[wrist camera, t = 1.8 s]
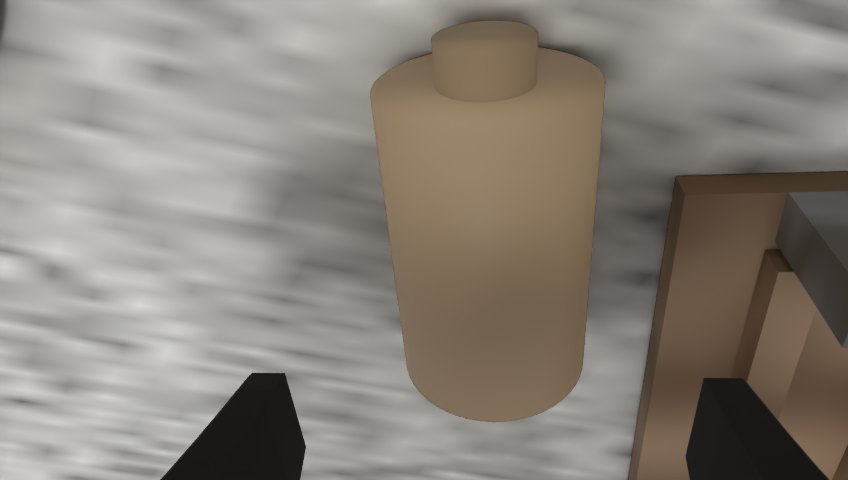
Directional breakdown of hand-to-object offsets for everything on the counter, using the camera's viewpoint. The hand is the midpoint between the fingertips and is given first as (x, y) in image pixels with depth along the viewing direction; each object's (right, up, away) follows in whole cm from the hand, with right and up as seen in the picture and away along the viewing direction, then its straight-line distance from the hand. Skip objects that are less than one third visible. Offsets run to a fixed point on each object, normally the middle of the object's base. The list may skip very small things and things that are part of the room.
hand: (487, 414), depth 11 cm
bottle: (+1, +5, +7) cm, 8 cm away
